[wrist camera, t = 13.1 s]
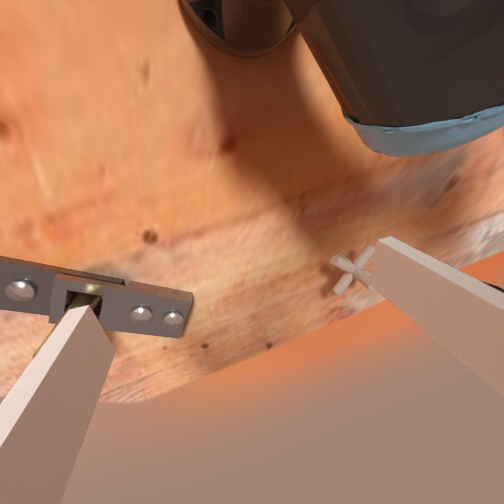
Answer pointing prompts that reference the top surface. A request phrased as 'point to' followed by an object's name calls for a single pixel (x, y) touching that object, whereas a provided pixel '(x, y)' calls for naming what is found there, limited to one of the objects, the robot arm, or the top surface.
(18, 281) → the bar
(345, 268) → the pipe connector
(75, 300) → the pin
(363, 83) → the robot arm
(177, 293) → the chain end
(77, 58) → the top surface
